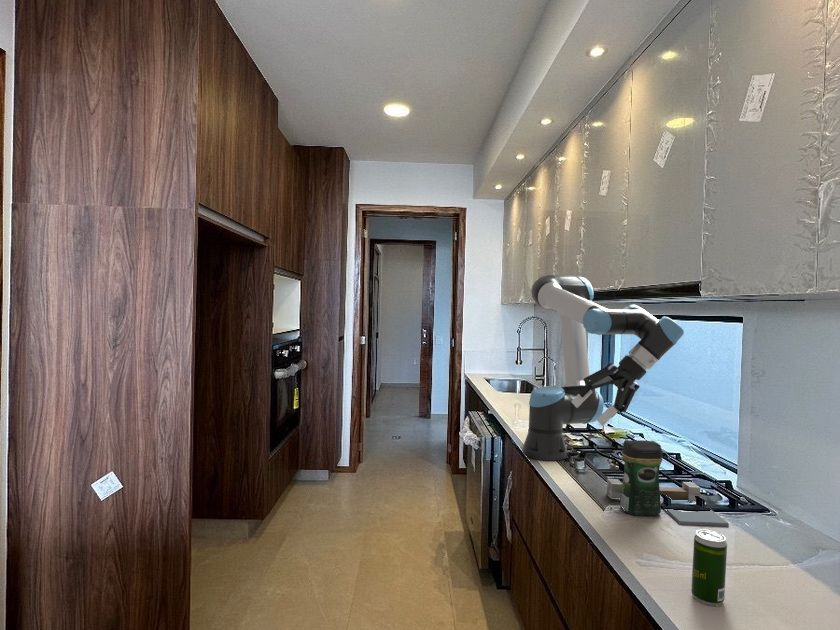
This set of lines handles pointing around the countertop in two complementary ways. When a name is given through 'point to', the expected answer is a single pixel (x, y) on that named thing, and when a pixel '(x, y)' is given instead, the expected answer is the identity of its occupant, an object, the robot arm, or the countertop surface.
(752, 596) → the countertop surface
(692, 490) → the walnut handrail
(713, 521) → the slate end pad
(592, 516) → the countertop surface
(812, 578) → the countertop surface
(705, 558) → the beer can
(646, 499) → the coffee jar
